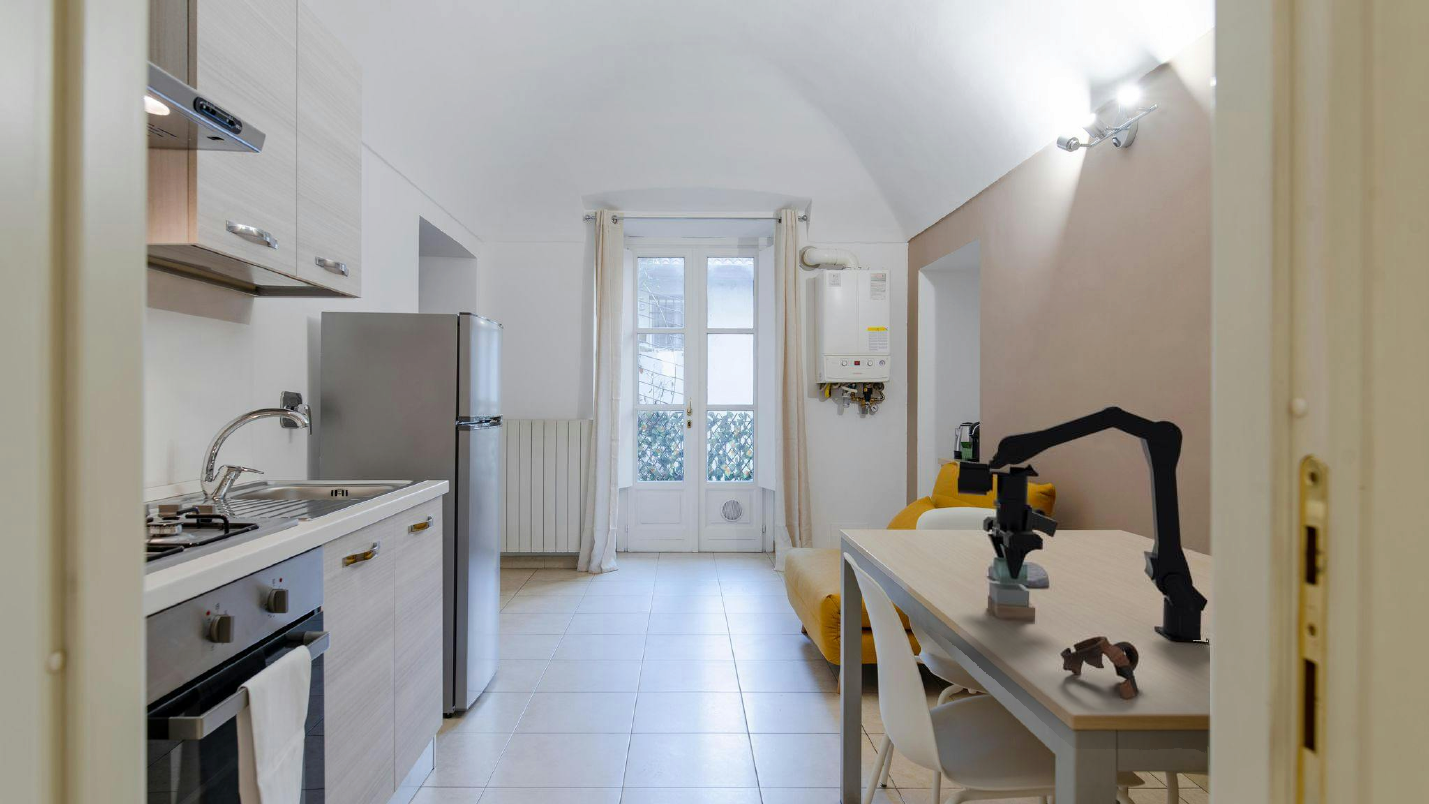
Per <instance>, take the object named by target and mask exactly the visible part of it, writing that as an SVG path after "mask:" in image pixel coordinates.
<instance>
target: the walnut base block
mask: <svg viewBox="0 0 1429 804" xmlns="http://www.w3.org/2000/svg"><path fill="white" fill-rule="evenodd" d="M988 608H989V609H988ZM987 609H988V610H989V611H990V610H991V611H990V612H991V613H992V612H993V613H992V614H993V616H994V617H995V618H996V617H997V618H996V619H997V620H1010V619H1012V620H1013V621H1028V622H1029V621H1031V622H1032V621H1033V622H1036V607H1035V606H1034V605H1033V604H1032V603H1031V602H1030V601H1029V606H1016V605H998V604H996V603H995V602H994V600H993V599H992V598H991V597H990V596H989V594H988V595H987Z"/></svg>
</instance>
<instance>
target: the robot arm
mask: <svg viewBox="0 0 1429 804" xmlns="http://www.w3.org/2000/svg"><path fill="white" fill-rule="evenodd" d="M1112 428H1114V429H1116V430H1118V431H1121V432H1124V433H1126V434H1129V435H1131V436H1134V437H1137V438H1139V441H1140V445H1141V447H1142V452H1143V454H1144V457H1145V460H1146V462H1147V466H1148V468H1149V480H1150V493H1151V507H1152V508H1151V509H1152V522H1153V523H1152V525H1153V538H1154V543H1153V547H1152V550H1151V551H1147V550H1144V551H1143V555H1144V559H1145V568H1144V573H1145V574H1146V575H1147V577H1148V578H1149V579H1150V582H1151V583H1153V585H1154V587H1156V589H1157V590H1158V591H1159V592H1160V593H1161V594H1162V596H1164V597H1163V608H1162V609H1163V610H1162V611H1163V612H1162V614H1163V615H1162V626H1156V625H1155V626H1154V628H1153V629H1154V630H1155V631H1157V633H1159V634H1161V635H1162V636H1164V637H1166V638H1167V639H1169V640H1170V641H1173V642H1186V641H1193V640H1201V635H1202V633H1201V632H1202V612H1203V611H1204V610H1205V608H1206V606H1207V604H1208V599H1207V598H1206V597H1205V596H1204V595H1203V594H1201V592H1200V591H1199V590H1198V589H1197V588H1196V587H1195V586H1194V583H1193V577H1192V573H1191V571H1190V567H1189V566H1190V565H1189V564H1188V561H1187V559H1186V555H1185V554H1184V553H1185V552H1184V550H1183V547H1182V543H1181V542H1182V538H1181V537H1182V536H1181V526H1180V525H1181V524H1180V514H1179V513H1180V512H1179V511H1180V510H1179V500H1178V499H1179V495H1178V484H1177V483H1178V482H1177V468H1178V464H1179V460H1180V456H1181V452H1182V444H1183V438H1184V437H1183V433H1182V432H1183V431H1182V430H1181V428H1180V426H1178V425H1177V424H1176V423H1174V422H1171V421H1169V420H1163V419H1152V420H1151V419H1148V418H1145V417H1142V416H1139V415H1137V414H1134V413H1131V412H1128V411H1126V410H1124V409H1122V408H1121V407H1119V406H1114V405H1113V406H1112V405H1109V406H1105V407H1103V408H1102V409H1100V410H1097V411H1094V412H1090V413H1088V414H1085V415H1082V416H1079V417H1076V418H1073V419H1070V420H1067V421H1064V422H1062V423H1058V424H1056V425H1055V424H1054V425H1052V426H1050V427H1046V428H1043V429H1038V430H1031V431H1030V430H1029V431H1022V432H1017V433H1012V434H1008V435H1005V436H1003V437H1002V438H1000V440H999V443H998V444H997V451H996V453H995V454H994V455H993V456H992V457H990V458H989V460H988V462H978V461H977V462H976V461H975V462H974V461H968V460H960V462H959V470H958V477H957V494H958V495H972V496H988V493H990V491H991V492H993V491H994V475H996V499H995V500H994V499H993V503H992V504H993V506H995V509H996V510H995V514H996V515H995V516H987V517H986V518H984V519H983V520H982V521H983V522H982V529H983V530H984V531H985V532H986V533H987V532H988V533H987V537H988V538H989V541H990V543H991V545H992V548H993V550H994V553H995V555H996V557H998V558H1005V561H1006V564H1007V567H1008V570H1009V573H1010V576H1011V578H1012V579H1018V576H1019V573H1020V570H1021V567H1022V564H1023V562H1025V559H1026V557H1027V555H1028V554H1029V553H1030V552H1032V551H1035V550H1036V551H1038V550H1039V551H1040V550H1043V549H1044V538H1043V537H1041V536H1040V535H1039V534H1038V533H1036V532H1035V531H1033V530H1036V531H1038V532H1041V533H1043V534H1046V535H1047V536H1048V537H1051V538H1054V537H1055V535H1056V531H1057V530H1058V526H1059V524H1060V522H1058V521H1057V520H1054V519H1053V518H1051V517H1048V516H1047V515H1046V511H1045V510H1044V509H1041V508H1038V507H1034V508H1033V505H1032V504H1030V503H1028V502H1029V501H1028V496H1029V495H1028V494H1029V488H1028V487H1029V477H1031V478H1032V477H1035V478H1038V477H1039V476H1040V475H1039V473H1038V471H1037V470H1035V468H1034V467H1033V466H1032V464H1031V463H1027V464H1026V465H1025V467H1024V466H1017V465H1020V464H1023V463H1024V462H1026V461H1029V460H1031V459H1032V458H1034V457H1035V456H1038V455H1039V454H1040V453H1043V452H1045V451H1046V450H1048V449H1050V448H1053V447H1056V446H1059V445H1062V444H1065V443H1068V442H1071V441H1074V440H1077V439H1080V438H1083V437H1086V436H1090V435H1093V434H1095V433H1099V432H1102V431H1105V430H1109V429H1112ZM1007 465H1012V466H1009V468H1008V469H1009V470H1000V469H1002V468H1004V467H1005V466H1007ZM989 532H991V533H989ZM1207 640H1208V643H1209V640H1210V639H1209V638H1207V637H1206V641H1207ZM1209 644H1210V643H1209Z"/></svg>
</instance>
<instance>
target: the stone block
mask: <svg viewBox="0 0 1429 804" xmlns="http://www.w3.org/2000/svg"><path fill="white" fill-rule="evenodd" d="M1024 562H1025V563H1026V564H1028V570H1027V585H1023V586H1025V587H1030V588H1032V587H1033V588H1047V587H1048V588H1049V587H1050V579H1049V574H1048V572H1047V571H1046V570H1045V569H1044V567H1043V566H1041V565H1040V564H1038V563H1036V562H1034V561H1024ZM993 571H994V562H992V563H990V565H989V567H988V569H987V572H988V577H990V578H991V579H993V580H994V581H997V580H996V579H995V578H994V577H993Z"/></svg>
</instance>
